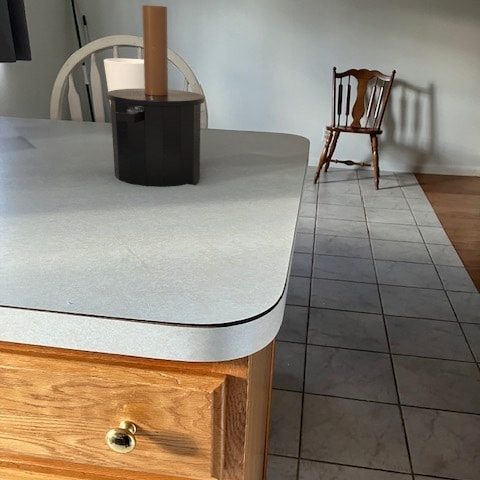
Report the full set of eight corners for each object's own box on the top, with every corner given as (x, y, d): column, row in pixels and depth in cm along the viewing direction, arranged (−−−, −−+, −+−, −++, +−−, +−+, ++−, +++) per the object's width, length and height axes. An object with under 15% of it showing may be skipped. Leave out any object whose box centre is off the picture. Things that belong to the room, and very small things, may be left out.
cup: (168, 137, 103) (167, 63, 97) (118, 140, 98) (114, 62, 92) (148, 127, 110) (146, 58, 104) (101, 130, 105) (96, 57, 99)
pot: (88, 188, 70) (81, 102, 65) (148, 162, 85) (145, 89, 79) (170, 200, 67) (169, 111, 62) (217, 171, 82) (220, 96, 77)
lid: (88, 104, 68) (80, 1, 62) (136, 95, 78) (132, 5, 73) (181, 115, 64) (181, 6, 59) (218, 103, 75) (220, 10, 70)
